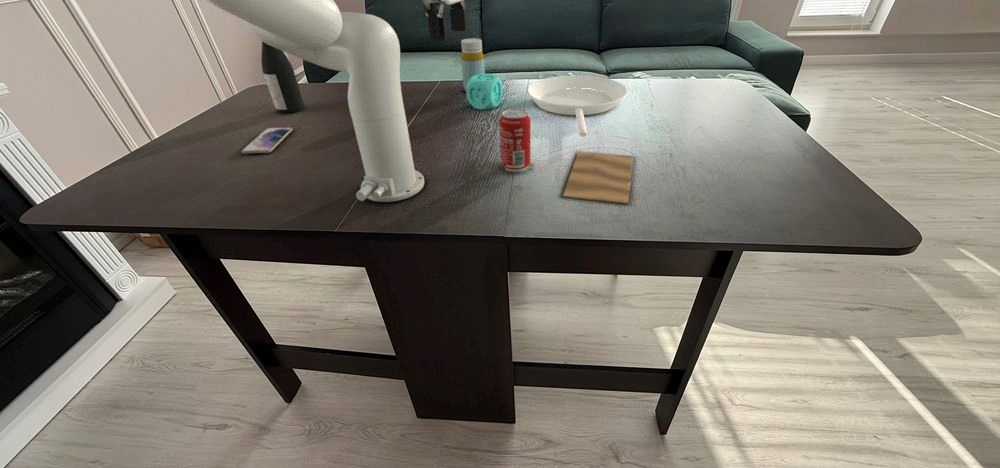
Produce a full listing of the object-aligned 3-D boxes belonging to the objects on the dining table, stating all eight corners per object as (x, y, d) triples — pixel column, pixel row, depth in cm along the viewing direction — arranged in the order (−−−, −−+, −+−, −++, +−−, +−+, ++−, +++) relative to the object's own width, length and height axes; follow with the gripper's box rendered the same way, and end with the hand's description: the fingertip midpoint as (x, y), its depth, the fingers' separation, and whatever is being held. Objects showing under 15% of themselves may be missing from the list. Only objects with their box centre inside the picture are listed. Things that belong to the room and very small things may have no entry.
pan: (618, 87, 134) (620, 74, 132) (644, 145, 98) (646, 129, 96) (528, 88, 137) (528, 75, 134) (521, 145, 101) (521, 129, 99)
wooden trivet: (627, 204, 78) (628, 202, 78) (562, 196, 81) (562, 195, 81) (632, 157, 93) (632, 156, 93) (578, 152, 96) (578, 151, 96)
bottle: (460, 89, 139) (456, 39, 130) (480, 85, 141) (477, 37, 132) (468, 95, 133) (464, 43, 125) (489, 91, 136) (486, 40, 127)
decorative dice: (480, 99, 129) (478, 72, 125) (503, 102, 126) (503, 74, 122) (467, 107, 124) (464, 79, 119) (491, 111, 121) (490, 82, 116)
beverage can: (530, 160, 94) (531, 107, 87) (529, 174, 89) (529, 118, 82) (502, 160, 94) (500, 107, 88) (499, 173, 89) (497, 118, 82)
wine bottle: (281, 116, 123) (241, -1, 106) (273, 109, 128) (233, -3, 111) (308, 109, 127) (274, -4, 110) (300, 103, 132) (266, -6, 115)
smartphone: (293, 127, 114) (269, 150, 101) (294, 130, 114) (270, 153, 102) (266, 127, 114) (239, 151, 101) (267, 130, 114) (241, 154, 102)
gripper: (436, -69, 68) (447, 45, 78) (476, -70, 81) (481, 27, 91) (395, -67, 70) (411, 43, 80) (441, -69, 84) (450, 26, 93)
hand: (449, 35), depth 86 cm, fingers open, 9 cm apart
